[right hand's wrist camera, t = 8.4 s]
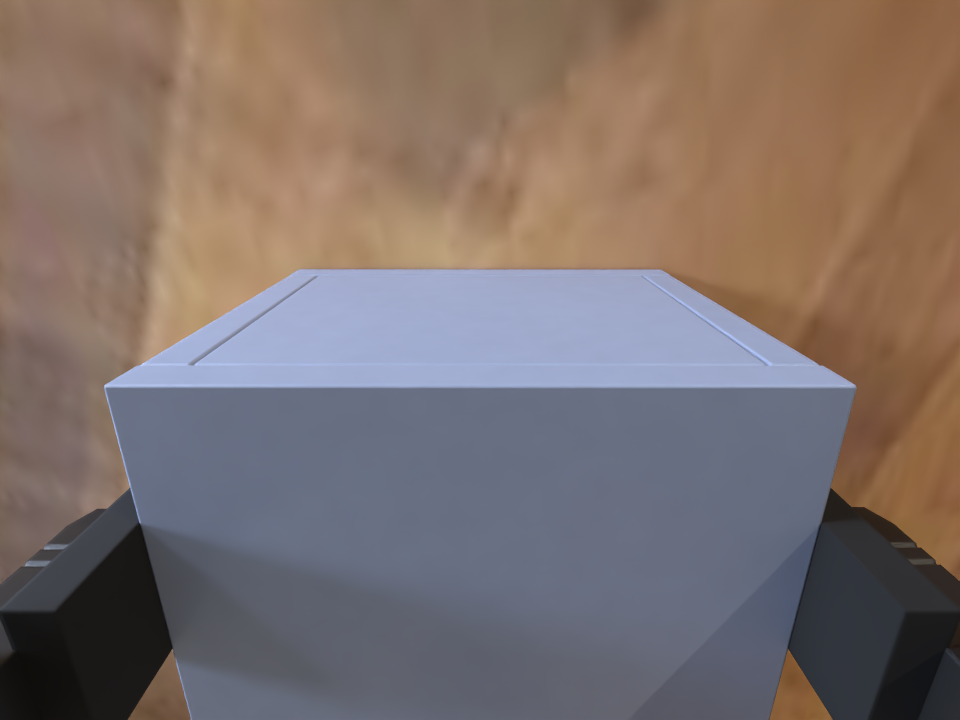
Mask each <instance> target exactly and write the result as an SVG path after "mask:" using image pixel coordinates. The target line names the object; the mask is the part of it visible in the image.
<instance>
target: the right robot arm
mask: <svg viewBox="0 0 960 720" xmlns="http://www.w3.org/2000/svg"><path fill="white" fill-rule="evenodd" d="M788 649H789V651H790V652H791V654H792V655H793V657H794V659H795V660H796V662H797V663H798V665H799V666H800V668H801V670H802V671H803V673H804V674H805V676H806V677H807V679H808V681H809V682H810V684H811V685H812V687H813V689H814V690H815V692H816V693H817V695H818V696H819V698H820V700H821V701H822V703H823V704H824V706H825V707H826V709H827V711H828V712H829V714H830V715H831V717H832V719H833V720H960V581H958V580H957V579H956V578H955V577H954V576H953V575H952V574H950V573H949V572H948V571H947V570H946V569H945V568H944V567H942V566H941V565H937V564H936V562H935V560H934V559H933V558H932V557H931V556H930V555H929V554H928V553H926V552H925V551H924V550H923V549H922V548H917V546H916V543H915V542H914V541H913V540H912V539H910V538H909V537H908V536H907V535H906V534H905V533H904V532H902V531H901V530H900V529H899V528H898V527H897V526H896V525H894V524H893V523H891V522H889V521H888V520H886V519H884V518H882V517H880V516H879V515H877V514H875V513H873V512H872V511H870V510H868V509H866V508H864V507H851V506H850V505H849V504H847V503H846V502H845V501H844V500H843V499H842V498H841V497H840V496H839V495H838V494H837V493H836V492H835V491H833V490H832V489H831V488H830V491H829V495H828V499H827V503H826V506H825V510H824V514H823V518H822V522H821V525H820V529H819V533H818V537H817V540H816V544H815V548H814V552H813V556H812V559H811V563H810V567H809V571H808V575H807V578H806V582H805V586H804V590H803V594H802V597H801V601H800V605H799V609H798V612H797V616H796V620H795V624H794V628H793V631H792V635H791V639H790V643H789V647H788ZM171 650H172V645H171V641H170V637H169V633H168V629H167V626H166V622H165V618H164V614H163V610H162V607H161V603H160V599H159V595H158V591H157V587H156V584H155V580H154V576H153V572H152V568H151V565H150V561H149V557H148V553H147V549H146V546H145V542H144V538H143V534H142V530H141V526H140V523H139V519H138V515H137V511H136V507H135V504H134V500H133V496H132V492H131V488H129V489H128V490H127V491H126V492H125V493H124V494H123V495H122V496H121V497H120V498H119V499H117V500H116V501H115V502H114V503H113V504H112V505H111V506H110V507H109V508H108V509H96V510H94V511H93V512H91V513H89V514H87V515H86V516H84V517H82V518H80V519H79V520H77V521H75V522H73V523H72V524H70V525H68V526H67V527H66V528H64V529H63V530H62V531H61V532H60V533H59V534H58V535H56V536H55V537H54V538H53V539H52V540H51V541H50V542H48V543H47V544H46V545H45V549H44V550H39V551H38V552H37V553H36V554H35V555H34V556H33V557H31V558H30V559H29V560H28V561H27V562H26V566H25V567H20V568H19V569H18V570H17V571H16V572H14V573H13V574H12V575H11V576H10V577H9V578H8V579H6V580H5V581H4V582H3V583H2V584H1V585H0V720H127V719H128V718H129V716H130V715H131V713H132V712H133V710H134V708H135V707H136V705H137V704H138V702H139V700H140V699H141V697H142V696H143V694H144V693H145V691H146V689H147V688H148V686H149V685H150V683H151V682H152V680H153V678H154V677H155V675H156V674H157V672H158V670H159V669H160V667H161V666H162V664H163V663H164V661H165V659H166V658H167V656H168V655H169V653H170V652H171Z"/></svg>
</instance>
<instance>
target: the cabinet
mask: <svg viewBox="0 0 960 720" xmlns="http://www.w3.org/2000/svg"><path fill="white" fill-rule="evenodd" d="M104 389H105V393H106V397H107V400H108V404H109V408H110V412H111V416H112V420H113V423H114V427H115V431H116V435H117V439H118V442H119V446H120V450H121V454H122V458H123V462H124V465H125V469H126V473H127V477H128V481H129V484H130V488H131V492H132V496H133V500H134V504H135V507H136V511H137V515H138V519H139V523H140V526H141V530H142V534H143V538H144V542H145V546H146V549H147V553H148V557H149V561H150V565H151V568H152V572H153V576H154V580H155V584H156V587H157V591H158V595H159V599H160V603H161V607H162V610H163V614H164V618H165V622H166V626H167V629H168V633H169V637H170V641H171V645H172V649H173V652H174V656H175V660H176V664H177V668H178V671H179V675H180V679H181V683H182V687H183V691H184V694H185V698H186V702H187V706H188V710H189V713H190V717H191V720H769V719H770V715H771V711H772V707H773V703H774V700H775V696H776V692H777V688H778V685H779V681H780V677H781V673H782V669H783V666H784V662H785V658H786V654H787V650H788V647H789V643H790V639H791V635H792V631H793V628H794V624H795V620H796V616H797V612H798V609H799V605H800V601H801V597H802V594H803V590H804V586H805V582H806V578H807V575H808V571H809V567H810V563H811V559H812V556H813V552H814V548H815V544H816V540H817V537H818V533H819V529H820V525H821V522H822V518H823V514H824V510H825V506H826V503H827V499H828V495H829V491H830V487H831V484H832V480H833V476H834V472H835V468H836V465H837V461H838V457H839V453H840V449H841V446H842V442H843V438H844V434H845V431H846V427H847V423H848V419H849V415H850V412H851V408H852V404H853V400H854V396H855V393H856V389H857V388H856V385H855V384H853V383H851V382H850V381H848V380H846V379H844V378H843V377H841V376H839V375H838V374H836V373H834V372H833V371H831V370H829V369H828V368H826V367H824V366H819V364H818V363H816V362H814V361H812V360H811V359H809V358H807V357H806V356H804V355H802V354H801V353H799V352H797V351H796V350H794V349H792V348H791V347H789V346H787V345H786V344H784V343H782V342H781V341H779V340H777V339H776V338H774V337H772V336H771V335H769V334H767V333H766V332H764V331H762V330H761V329H759V328H757V327H756V326H754V325H752V324H751V323H749V322H747V321H746V320H744V319H742V318H741V317H739V316H737V315H735V314H734V313H732V312H730V311H729V310H727V309H725V308H724V307H722V306H720V305H719V304H717V303H715V302H714V301H712V300H710V299H709V298H707V297H705V296H704V295H702V294H700V293H699V292H697V291H695V290H694V289H692V288H690V287H689V286H687V285H685V284H684V283H682V282H680V281H679V280H677V279H675V278H674V277H672V276H670V275H669V274H668V273H666V272H664V271H662V270H316V269H300V270H298V271H296V272H294V273H293V274H291V275H290V276H288V277H287V278H285V279H283V280H282V281H280V282H278V283H277V284H275V285H273V286H272V287H270V288H268V289H267V290H265V291H263V292H262V293H260V294H258V295H257V296H255V297H253V298H252V299H250V300H248V301H247V302H245V303H243V304H241V305H240V306H238V307H236V308H235V309H233V310H231V311H230V312H228V313H226V314H225V315H223V316H221V317H220V318H218V319H216V320H215V321H213V322H211V323H210V324H208V325H206V326H205V327H203V328H201V329H200V330H198V331H196V332H195V333H193V334H191V335H190V336H188V337H186V338H185V339H183V340H181V341H180V342H178V343H176V344H175V345H173V346H171V347H170V348H168V349H166V350H165V351H163V352H161V353H160V354H158V355H156V356H155V357H153V358H151V359H150V360H148V361H146V362H145V363H143V364H142V365H138V366H136V367H134V368H133V369H131V370H129V371H128V372H126V373H124V374H123V375H121V376H119V377H118V378H116V379H114V380H113V381H111V382H109V383H107V384H106V385H105V386H104Z"/></svg>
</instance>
